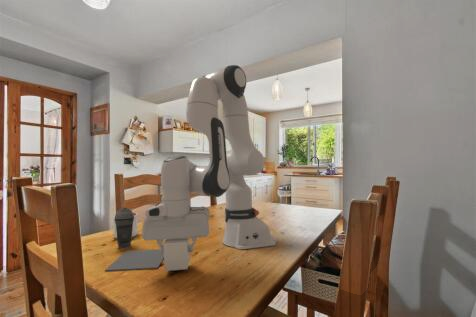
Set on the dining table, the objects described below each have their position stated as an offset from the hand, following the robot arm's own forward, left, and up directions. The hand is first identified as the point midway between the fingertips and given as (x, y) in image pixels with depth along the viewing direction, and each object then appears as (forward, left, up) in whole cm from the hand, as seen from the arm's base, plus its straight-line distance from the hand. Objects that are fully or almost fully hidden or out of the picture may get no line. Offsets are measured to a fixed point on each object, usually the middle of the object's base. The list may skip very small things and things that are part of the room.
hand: (177, 252), depth 71 cm
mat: (+15, -10, -6) cm, 18 cm away
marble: (+1, 0, -4) cm, 4 cm away
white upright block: (0, 0, -4) cm, 4 cm away
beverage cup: (+26, -24, -6) cm, 35 cm away
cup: (+31, -38, -6) cm, 49 cm away
